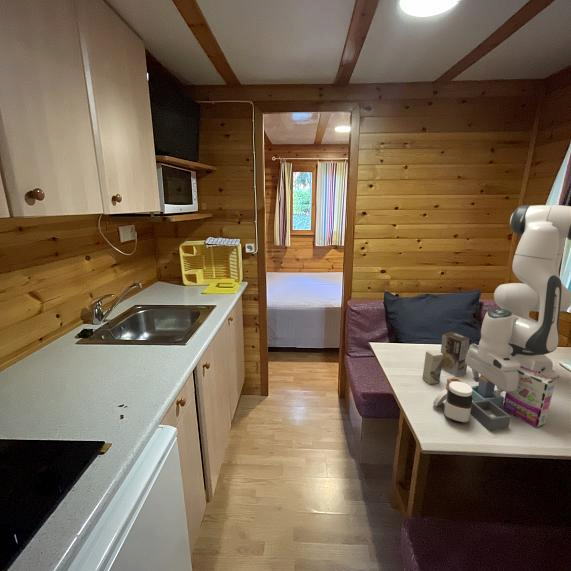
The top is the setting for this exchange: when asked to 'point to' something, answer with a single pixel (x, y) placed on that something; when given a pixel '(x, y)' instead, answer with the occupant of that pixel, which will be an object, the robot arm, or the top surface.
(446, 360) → the coffee box
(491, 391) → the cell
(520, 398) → the candy bar box
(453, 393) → the spread jar
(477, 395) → the trough
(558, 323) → the robot arm
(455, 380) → the cup
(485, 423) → the box
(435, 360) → the box
